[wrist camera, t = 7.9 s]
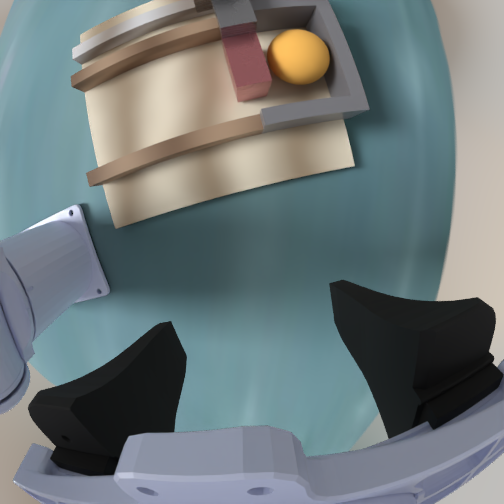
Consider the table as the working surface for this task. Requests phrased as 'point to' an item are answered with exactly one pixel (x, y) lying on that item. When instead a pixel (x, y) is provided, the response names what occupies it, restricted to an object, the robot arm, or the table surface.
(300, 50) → the ball
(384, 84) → the table surface
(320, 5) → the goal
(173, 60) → the beige grooved board
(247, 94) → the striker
